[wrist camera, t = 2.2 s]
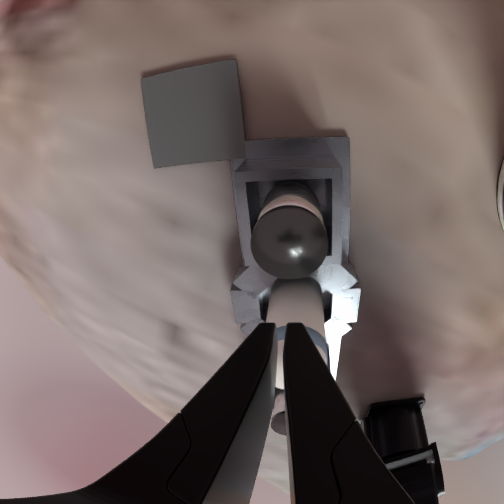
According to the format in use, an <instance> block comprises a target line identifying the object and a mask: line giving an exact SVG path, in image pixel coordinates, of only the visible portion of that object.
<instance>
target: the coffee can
mask: <svg viewBox="0 0 504 504" xmlns="http://www.w3.org/2000/svg"><path fill="white" fill-rule="evenodd" d="M497 204H498V213H499V218H500V222H501V225H502V228H503V230H504V160H503V163H502V166H501V170H500V175H499V181H498V191H497Z"/></svg>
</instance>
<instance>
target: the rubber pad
mask: <svg viewBox="0 0 504 504" xmlns="http://www.w3.org/2000/svg"><path fill="white" fill-rule="evenodd" d="M141 86H142V94H143V102H144V109H145V116H146V123H147V130H148V136H149V143H150V149H151V154H152V160H153V166H154V169H155V168H161V167H169V166H176V165H184V164H192V163H200V162H210V161H219V160H230V159H241V158H246V149H245V141H246V138H245V129H244V120H243V111H242V102H241V93H240V84H239V75H238V66H237V60H236V59H233V60H226V61H220V62H214V63H208V64H202V65H197V66H192V67H187V68H182V69H178V70H174V71H169V72H165V73H161V74H157V75H153V76H150V77H146V78H142V79H141Z"/></svg>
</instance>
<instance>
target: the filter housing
mask: <svg viewBox="0 0 504 504" xmlns="http://www.w3.org/2000/svg"><path fill="white" fill-rule="evenodd" d="M245 149H246V158H241V159H230V166H231V174H232V182H233V190H234V198H235V206H236V214H237V222H238V230H239V237H240V245H241V253H242V260H243V265H242V266H241V267H240V268H239V269H238V270H237V272H236V275H235V278H234V281H233V284H232V287H231V290H230V292H231V298H232V304H233V310H234V316H235V321H236V323H242V324H241V328H240V330H242V331H243V332H245V333H246V334H248V335H249V334H250V333H251V332H252V331H253V330H254V329H255V327H256V326H257V325H258V324H259V323H261V322H266V318H267V312H268V305H269V299H270V293H271V287H272V285H273V283H274V282H275V280H276V279H277V277H275V276H272V275H270V274H268V273H267V272H265V271H264V270H263V269H262V268H261V267H260V266H259V265H258V264H257V263H256V261H255V259H254V257H253V255H252V252H251V246H250V241H251V236H252V232H253V229H254V227H255V224H256V223H257V221H258V218H259V215H260V212H261V209H262V206H263V203H264V200H265V198H266V196H267V194H268V193H269V192H270V190H271V189H273V188H274V187H275V186H277V185H279V184H282V183H285V182H297V183H301V184H303V185H305V186H307V187H309V188H310V189H311V190H312V191H313V192H314V193H315V195H316V196H317V198H318V201H319V204H320V209H321V214H322V219H323V224H324V227H325V230H326V234H327V239H328V251H327V255H326V258H325V260H324V261H323V263H322V264H321V266H320V267H319V268H318V269H317V270H316V271H314V272H313V273H311V274H310V275H308V276H305V277H312V278H313V279H315V280H316V281H317V282H318V283H319V284H320V286H321V289H322V299H323V311H324V324H325V339H326V344H327V357H328V362H327V367H328V368H329V370H330V372H331V374H332V375H333V377H334V379H336V372H337V365H338V358H339V351H340V343H341V336H343V335H344V334H345V333H347V332H348V331H350V330H351V329H352V324H351V322H357V315H358V308H359V300H360V292H361V287H360V284H359V280H358V277H357V275H356V272H355V269H354V267H353V266H352V265H351V264H349V263H348V253H349V230H350V139H349V137H348V136H329V137H294V138H275V139H260V140H248V141H245ZM275 395H276V387H275ZM274 403H275V397H274ZM273 411H274V405H273V410H272V412H273Z"/></svg>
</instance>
